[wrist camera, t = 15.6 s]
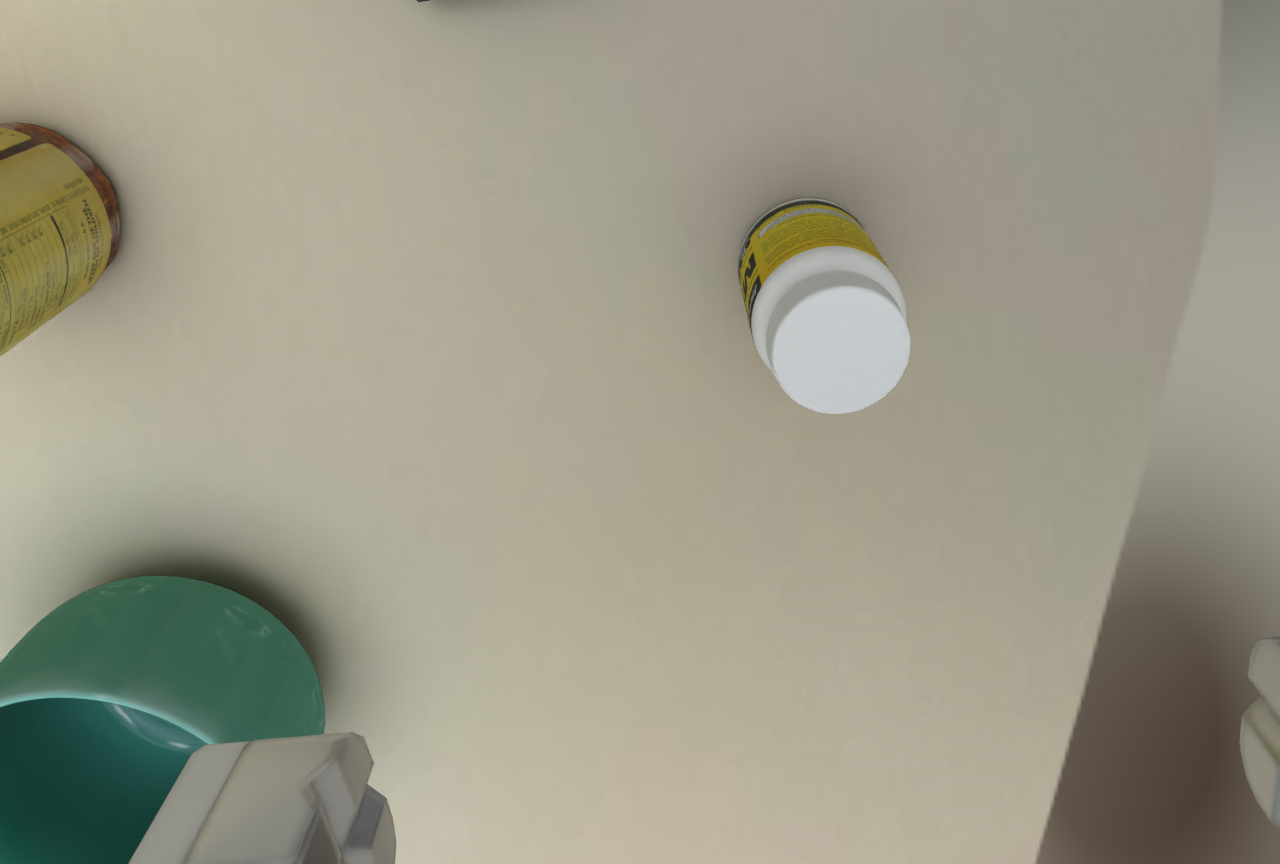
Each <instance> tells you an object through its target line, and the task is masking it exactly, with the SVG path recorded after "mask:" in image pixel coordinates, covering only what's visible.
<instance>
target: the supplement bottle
mask: <svg viewBox="0 0 1280 864" xmlns="http://www.w3.org/2000/svg"><path fill="white" fill-rule="evenodd" d="M738 273H739V281H740V285H741V290H742V293H743V298H744V302H745V306H746V311H747V315H748V320H749V324H750V329H751V333H752V338H753V341H754V344H755V347H756V349H757V352H758V354H759V355H760V357H761V359H762V360H763V362H764V363H765V365H766V366H767V368H768V369H769V370H770V371H771V372H772V373H773V374H774V375H775V377H776V379H777V381H778V383H779V384H780V386H781V387H782V389H783V390H784V391H785V392H786V394H787V395H788V396H789V397H790V398H791V399H793V400H794V401H795V402H797V403H798V404H800V405H802V406H803V407H805V408H808V409H810V410H813V411H816V412H820V413H826V414H844V413H851V412H855V411H858V410H861V409H864V408H866V407H868V406H870V405H872V404H874V403H876V402H877V401H879V400H880V399H882V398H883V397H884V396H885V395H887V394H888V393H889V392H890V391H891V390H892V389H893V388H894V387H895V385H896V384H897V383H898V382H899V380H900V379H901V377H902V375H903V373H904V371H905V369H906V366H907V363H908V360H909V355H910V345H911V340H910V332H909V329H908V325H907V322H906V306H905V300H904V297H903V293H902V291H901V289H900V286H899V284H898V282H897V280H896V278H895V276H894V275H893V273H892V272H891V270H890V269H889V267H888V266H887V264H886V263H885V261H884V260H883V258H882V257H881V255H880V254H879V252H878V251H877V249H876V247H875V246H874V244H873V242H872V241H871V239H870V237H869V236H868V234H867V233H866V231H865V230H864V228H863V226H862V225H861V224H860V223H859V221H858V220H857V219H856V218H855V217H854V216H853V215H852V214H851V213H850V212H849V211H847V210H846V209H845V208H843V207H841V206H840V205H837V204H835V203H833V202H830V201H827V200H823V199H816V198H803V199H796V200H791V201H788V202H785V203H783V204H780V205H778V206H776V207H774V208H772V209H771V210H769V211H768V212H766V213H765V214H764V215H763V216H762V217H760V218H759V219H758V220H757V221H756V223H755V224H754V225H753V226H752V227H751V229H750V230H749V232H748V234H747V235H746V237H745V239H744V241H743V244H742V247H741V250H740V255H739V261H738Z"/></svg>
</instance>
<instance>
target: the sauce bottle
mask: <svg viewBox="0 0 1280 864" xmlns="http://www.w3.org/2000/svg"><path fill="white" fill-rule="evenodd" d="M119 235H120V219H119V208H118V204H117V202H116V198H115V192H114V190H113V187H112V185H111V183H110V180H109V179H108V178H107V177H106V176H105V175H104V174H103V173H102V171H101V170H100V169H99V168H98V166H97V165H96V164H95V163H94V162H93V161H92V160H91V159H89V158H88V157H87V156H86V155H85V154H84V153H83V152H82V151H81V150H80V149H78V148H77V147H76V146H74V145H73V144H71V143H70V142H68V141H67V140H66V139H65V138H64V137H62V136H60V135H58V134H57V133H56V132H54V131H52V130H48V129H45V128H42V127H39V126H36V125H32V124H22V123H12V124H0V356H2V355H3V354H4V353H6V352H7V351H8V350H10V349H11V348H12V347H14V346H15V345H16V344H18V343H19V342H20V341H22V340H23V339H24V338H26V337H27V336H29V335H30V334H31V333H33V332H34V331H35V330H37V329H38V328H39V327H41V326H42V325H43V324H45V323H46V322H47V321H49V320H50V319H52V318H53V317H54V316H56V315H57V314H58V313H60V312H61V311H62V310H64V309H65V308H66V307H68V306H69V305H71V304H72V303H73V302H75V301H76V300H77V299H79V298H80V297H81V296H83V295H84V294H85V293H86V292H88V291H89V290H90V289H91V288H92V287H93V286H94V285H95V283H96V282H97V281H98V279H99V278H100V276H101V275H102V273H103V272H104V270H105V269H106V268H107V267H108V266H109V264H110V263H111V262H112V261H113V259H114V258H115V256H116V254H117V252H118V247H119Z"/></svg>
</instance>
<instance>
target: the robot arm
mask: <svg viewBox="0 0 1280 864" xmlns="http://www.w3.org/2000/svg"><path fill="white" fill-rule="evenodd" d="M1248 677H1249V678H1250V679H1251V681H1252V682H1253V683H1254V685H1255V686H1256V687H1257V689H1258V690H1259V691H1260V693H1261V694H1262V695H1261V696H1260V697H1259V698H1258V699H1257V700H1256V701H1255V702H1254V703H1253V704H1252V706H1250V707H1249V709H1247V710H1246V712H1245V713H1244V714H1243V715H1242V723H1241V734H1240V749H1241V754H1242V759H1243V764H1244V769H1245V773H1246V777H1247V779H1248V782H1249V784H1250V786H1251V788H1252V791H1253V793H1254V795H1255V798H1256V800H1257V801H1258V803H1259V804H1260V806H1261V807H1262V809H1263V810H1264V812H1265V814H1266V815H1267V817H1268V818H1269V820H1270V821H1271V823H1272V824H1274V825H1276V826H1278V827H1279V828H1280V637H1273V638H1263V639H1259V640H1258V642H1257V644H1256V645H1255V647H1254V649H1253V650H1252V652H1251V657H1250V663H1249V669H1248ZM373 764H374V762H373V759H372V757H371V754H370V752H369V749H368V747H367V744H366V742H365V739H364V737H363V736H360V735H358V734H356V733H353V732H350V733H337V734H325V735H312V736H299V737H286V738H274V739H261V740H255V741H253V742H235V743H223V744H210V745H205V746H203V747H202V748H200V749H199V750H197V751H196V752H194V753H193V754H192V755H191V756H190V758H189V759H188V761H187V763H186V765H185V766H184V768H183V770H182V772H181V773H180V775H179V777H178V778H177V780H176V782H175V784H174V785H173V787H172V789H171V791H170V792H169V794H168V796H167V797H166V799H165V801H164V803H163V804H162V806H161V808H160V810H159V811H158V813H157V815H156V817H155V818H154V820H153V822H152V823H151V825H150V827H149V829H148V830H147V832H146V834H145V836H144V837H143V839H142V841H141V843H140V844H139V846H138V848H137V849H136V851H135V853H134V855H133V856H132V858H131V860H130V862H129V863H128V864H395V854H396V837H395V830H394V823H393V817H392V814H391V811H390V808H389V805H388V802H387V799H386V798H385V797H384V796H383V795H381V794H380V793H379V792H377V791H376V790H375V789H373V788H372V787H370V786H369V785H368V784H367V782H368V779H369V776H370V773H371V770H372V767H373Z"/></svg>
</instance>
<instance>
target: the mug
mask: <svg viewBox="0 0 1280 864" xmlns="http://www.w3.org/2000/svg"><path fill="white" fill-rule="evenodd" d="M324 725H325V710H324V701H323V693H322V689H321V685H320V681H319V678H318V676H317V673H316V670H315V668H314V666H313V664H312V662H311V660H310V658H309V656H308V655H307V653H306V651H305V650H304V648H303V647H302V645H301V644H300V643H299V641H298V640H297V639H296V638H295V636H294V635H293V634H292V633H291V632H290V631H289V630H288V629H287V628H286V626H285V625H284V624H283V623H282V622H280V621H279V620H278V619H277V618H276V617H275V616H274V615H272V614H271V613H270V612H269V611H267V610H266V609H265V608H263V607H262V606H260V605H258V604H257V603H255V602H254V601H252V600H250V599H248V598H246V597H244V596H243V595H241V594H238V593H236V592H234V591H232V590H229V589H226V588H224V587H221V586H218V585H215V584H211V583H208V582H204V581H200V580H195V579H189V578H183V577H173V576H141V577H134V578H128V579H122V580H118V581H114V582H110V583H107V584H104V585H101V586H98V587H95V588H92V589H90V590H88V591H86V592H83V593H81V594H79V595H77V596H76V597H74V598H72V599H70V600H68V601H67V602H65V603H63V604H62V605H60V606H59V607H58V608H56V609H55V610H53V611H52V612H51V613H50V614H48V615H47V616H46V617H45V618H43V619H42V620H41V621H40V622H39V623H38V624H37V625H35V626H34V627H33V628H32V629H31V630H30V631H29V632H28V633H27V634H26V635H25V636H24V637H23V638H22V639H21V640H20V641H19V642H18V643H17V644H16V646H15V647H14V648H13V649H12V650H11V651H10V652H9V653H8V654H7V655H6V657H5V658H4V659H3V660H2V661H1V662H0V864H128V863H129V862H130V860H131V858H132V856H133V855H134V853H135V851H136V849H137V848H138V846H139V844H140V843H141V841H142V839H143V837H144V836H145V834H146V832H147V830H148V829H149V827H150V825H151V823H152V822H153V820H154V818H155V817H156V815H157V813H158V811H159V810H160V808H161V806H162V804H163V803H164V801H165V799H166V797H167V796H168V794H169V792H170V791H171V789H172V787H173V785H174V784H175V782H176V780H177V778H178V777H179V775H180V773H181V772H182V770H183V768H184V766H185V765H186V763H187V761H188V759H189V758H190V756H191V755H192V754H193V753H194V752H196V751H197V750H199V749H200V748H202V747H203V746H205V745H210V744H223V743H235V742H253V741H255V740H261V739H274V738H286V737H299V736H312V735H324Z"/></svg>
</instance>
